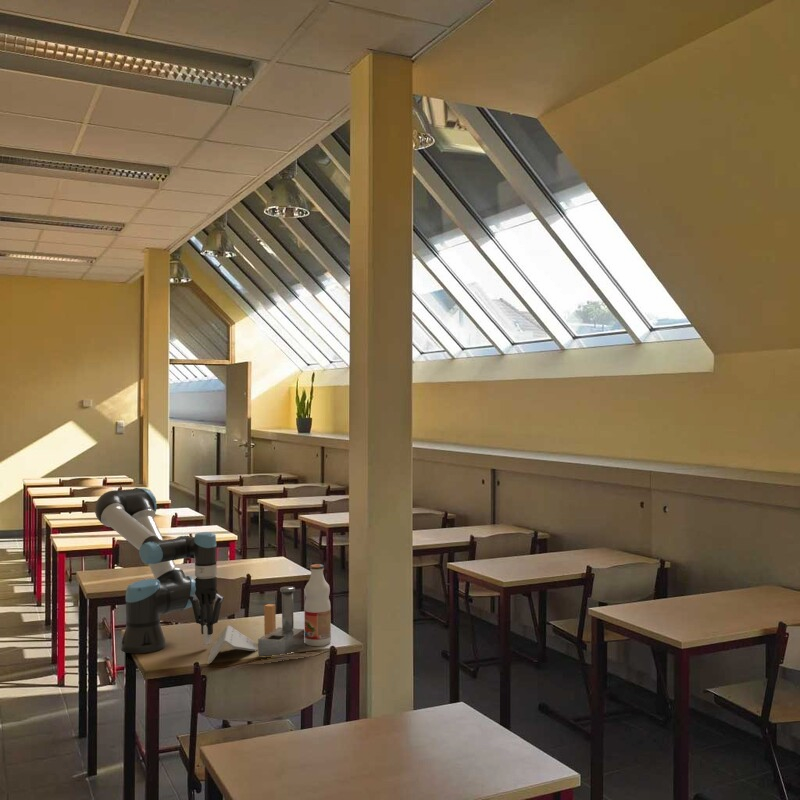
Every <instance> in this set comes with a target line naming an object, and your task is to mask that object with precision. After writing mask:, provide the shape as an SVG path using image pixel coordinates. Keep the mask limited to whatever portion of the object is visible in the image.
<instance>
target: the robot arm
mask: <svg viewBox="0 0 800 800" xmlns="http://www.w3.org/2000/svg"><path fill="white" fill-rule="evenodd" d="M157 509H158V505H157V499H156V496H155V495H154V493H153V492H152V491H151V490H149V489H148V488H145V487H144V488H142V487H141V488H140V487H134V488H130V489H129V488H127V489H114V490H113V489H112V490H109V491H105V492H104V493H103V494H102V495H101V496H100V497H98V499H97V501H96V503H95V505H94V514H95V516H96V518H97V520H98V521H99V522H100V523H101V524H102V525H103V526H104V527H108V528H111V529H113V530H114V531H115V532H116V533H117V534H118V535H120V536H121V537H122V538H123V539H125V541H127V542H128V543H130V544H131V545H132V546H133V547H135V549H137V550H138V551H139V552H138V554H139V558H140V559H141V561H142V563H143V564H145V565H148V566H149V569H150V571H151V572H152V576H154V578H147V579H141V580H137V581H134V582H133V583H130V584H129V585H128V586H127V588H126V592H125V622H126V623H125V625H126V626H125V630H124V633H123V637H122V639H121V642H120V651H121V652H123V653H126V654H149V653H152V652H157V651H160V650H162V649H164V648H165V647H166V638H165V635H164V631H163V629H162V626H161V615H165V614H170V613H175V612H180V611H184V610H186V609H189V608H192V610H193V616H194V620H195V623H196V624H198V625H200V628H201V629H200V631H201V632H200V633H201V635H203V637H202V638H203V640H202V641H203V645H205V646H207V645H209V644H211V643H212V635H213V633H214V625H216V624H217V623H218V621H219V618H220V617H219V616H220V613H221V606H222V603H223V601H224V599H225V597H224V596H222V595H220V594H219V592H218V589H217V588H218V577H217V575H218V571H217V570H218V567H217V561H218V560H217V546H218V544H217V538H216V537H217V535H216V534H215V532H211V531H209V532H207V531H204V532H198V533H195V534H194V536H190V535H189V536H188V535H184V536H183V535H180V536H177V537H176V538H169V539H164V538H163V536H162V533H161V532H160V529H159V527H158V526H157V523H156V521H155V519H154V518H155V517H156V511H157ZM182 559H183V560H184V559H194V575H195V578H194V577H192V576H190V575H187V576H186V574H185V572H184V571H183V569H182V568H178V567H177V565H176V563H175V562H174V561H177V560H182ZM214 601H215V603H214Z"/></svg>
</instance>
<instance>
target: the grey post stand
mask: <svg viewBox="0 0 800 800" xmlns="http://www.w3.org/2000/svg"><path fill="white" fill-rule="evenodd" d="M295 591H296V587H295V586H282V587H280V588H279V592H280V593H281V622H282V623H281V626H280V627H279V626H278V627H276V629H275V630H273V631H272V632H270V633H268V634H266V635H265V634H264V635H263V636H261V637H260V638H258V640H257V643H258V644H257V645H258V650H257V653H258V654H257V655H259V656H272V655H280V654H287V653H291V652H295V653H297V652H298V651H299V650H301V649H303V648H304V647H305V645H306V643H305V628H294V627H295V626H294V592H295Z"/></svg>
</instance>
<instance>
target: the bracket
mask: <svg viewBox="0 0 800 800" xmlns="http://www.w3.org/2000/svg"><path fill="white" fill-rule="evenodd" d="M225 644H226V645H228V646H230V648H232V649H236V650H244V651H248V652H249V651H250V652H256V651H255V650H257V645H258V644H257V643H256V642H255V641H253V640H252V639H250V638H249V637H247V636H246V635H244V634H243V633H241V632H240V631H239V630H237V629H236V628H234V627H233V626H231V625H227V626H226V627H225V628H224V630H223V631H222V632H221V633H220V635H219V636H218V638H217V639H216V641H215V642H214V643H213V645H212V646H211V647H212V648H210V650H211V652H210V651H209V654H210V655H208V658H209V659H208V658H207V662H208V663H212V662H213V661H214V660H215V658H216V657H217V656H218V654H219V652H221V650H222V648H223V647H224V646H225ZM257 651H258V650H257Z"/></svg>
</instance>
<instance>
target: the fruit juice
mask: <svg viewBox="0 0 800 800" xmlns="http://www.w3.org/2000/svg"><path fill="white" fill-rule="evenodd" d="M309 567H310V568H309V570H310V577H309V580H308V581H307V583H306V585H305V586H304V596H305V600H304V607H303V608H304V612H303V613H304V644H305V645H307V646H309V647H310V646H312V647H322V646H327V645H329V644H330V643H331V640H332V636H331V635H332V633H331V632H332V629H331V627H332V626H331V625H332V624H331V623H332V621H331V618H332V617H331V616H332V615H331V601H330V597H329V596H330V591H331V590H330V589H331V588H330V584H329V583H328V582H327V581H326V579H325V576H324V570H325V567H324V564H320V563H316V564H315V563H314V564H311V565H309Z"/></svg>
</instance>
